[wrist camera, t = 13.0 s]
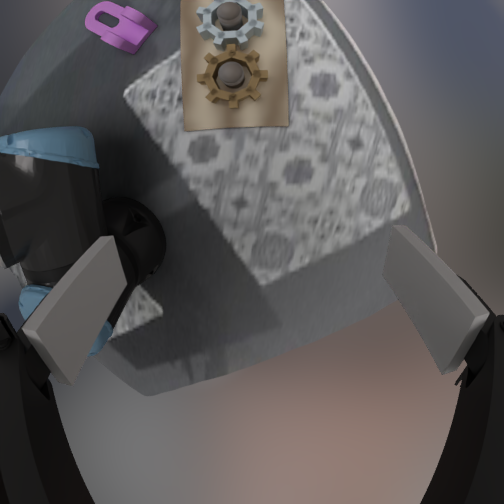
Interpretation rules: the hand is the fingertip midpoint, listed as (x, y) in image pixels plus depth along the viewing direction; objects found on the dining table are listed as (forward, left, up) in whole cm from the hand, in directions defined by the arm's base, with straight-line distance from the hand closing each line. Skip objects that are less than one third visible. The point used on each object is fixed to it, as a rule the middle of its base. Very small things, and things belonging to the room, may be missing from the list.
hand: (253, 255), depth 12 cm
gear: (-2, +20, -27) cm, 34 cm away
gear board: (-2, +15, -29) cm, 33 cm away
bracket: (-19, +24, -29) cm, 42 cm away
